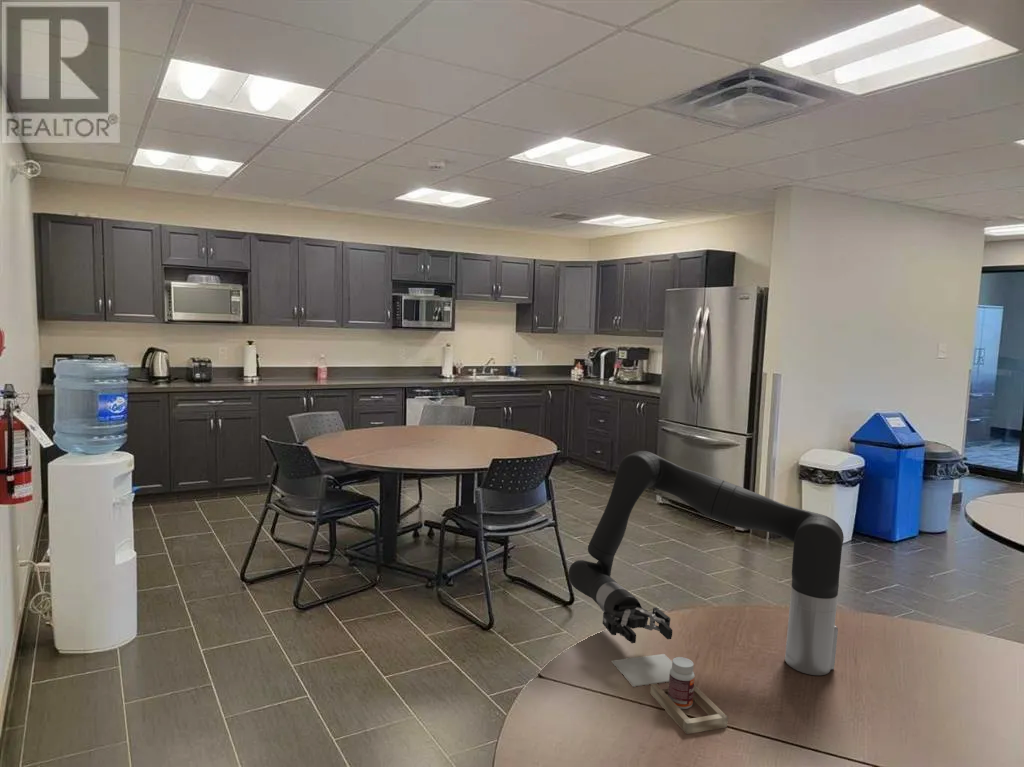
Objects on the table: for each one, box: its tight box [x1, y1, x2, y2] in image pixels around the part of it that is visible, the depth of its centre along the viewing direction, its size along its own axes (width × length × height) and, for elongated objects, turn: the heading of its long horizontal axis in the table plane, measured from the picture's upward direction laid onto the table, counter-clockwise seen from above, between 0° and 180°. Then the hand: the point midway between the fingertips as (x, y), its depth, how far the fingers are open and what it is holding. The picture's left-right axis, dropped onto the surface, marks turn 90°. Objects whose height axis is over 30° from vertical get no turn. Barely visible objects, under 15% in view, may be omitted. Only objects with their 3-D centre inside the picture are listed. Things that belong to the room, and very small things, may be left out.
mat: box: [611, 653, 673, 688], centre depth 139 cm, size 13×10×1 cm
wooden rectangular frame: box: [649, 684, 729, 735], centre depth 125 cm, size 9×13×2 cm, turn 18°
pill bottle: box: [667, 656, 696, 710], centre depth 127 cm, size 5×5×8 cm
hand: (652, 637), depth 138 cm, fingers open, 8 cm apart
